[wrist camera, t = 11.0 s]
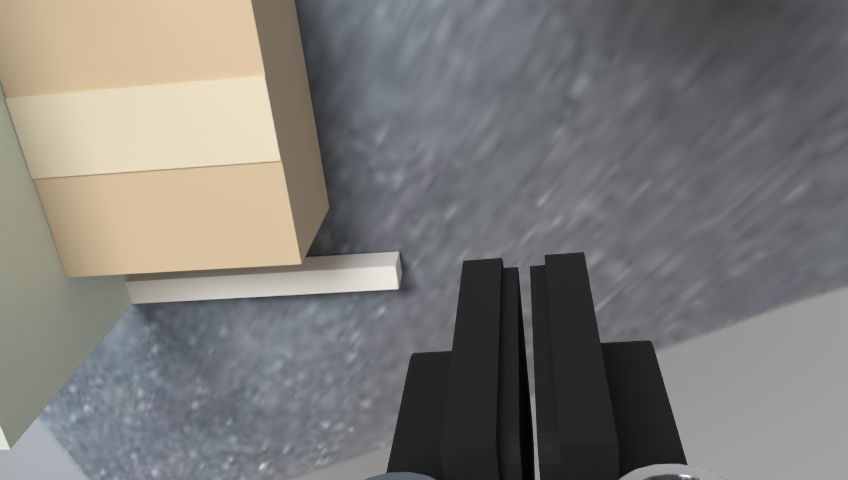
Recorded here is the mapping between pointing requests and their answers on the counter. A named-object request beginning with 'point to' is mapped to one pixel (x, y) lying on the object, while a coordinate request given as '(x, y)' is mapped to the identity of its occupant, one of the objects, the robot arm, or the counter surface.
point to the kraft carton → (165, 131)
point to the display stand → (111, 293)
